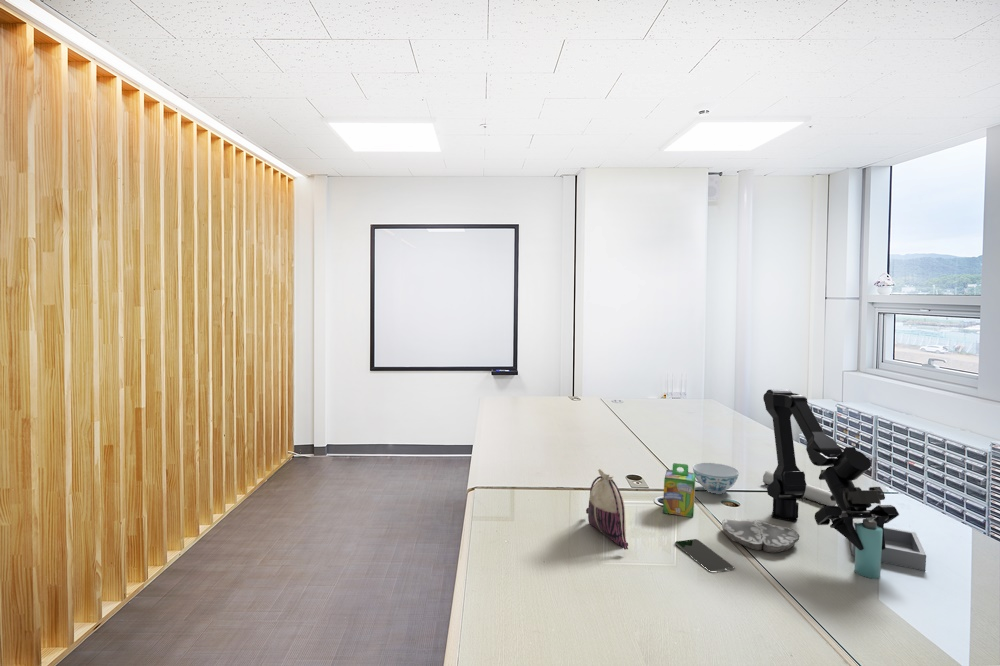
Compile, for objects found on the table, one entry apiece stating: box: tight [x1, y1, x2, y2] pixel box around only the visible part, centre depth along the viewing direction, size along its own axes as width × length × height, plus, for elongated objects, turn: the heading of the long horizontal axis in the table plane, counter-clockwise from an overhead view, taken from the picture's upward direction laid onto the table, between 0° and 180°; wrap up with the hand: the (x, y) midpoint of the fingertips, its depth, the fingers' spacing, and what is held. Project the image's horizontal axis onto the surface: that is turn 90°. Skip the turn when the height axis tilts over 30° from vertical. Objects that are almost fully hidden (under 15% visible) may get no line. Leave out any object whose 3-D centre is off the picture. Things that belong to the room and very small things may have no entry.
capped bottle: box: [854, 518, 883, 580], centre depth 128 cm, size 5×5×13 cm
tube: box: [762, 470, 837, 506], centre depth 181 cm, size 5×5×25 cm
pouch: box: [585, 468, 629, 550], centre depth 149 cm, size 25×8×19 cm, turn 22°
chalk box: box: [662, 462, 696, 518], centre depth 166 cm, size 9×9×15 cm
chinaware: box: [692, 462, 740, 495], centre depth 185 cm, size 15×15×8 cm
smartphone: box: [674, 538, 736, 572], centre depth 137 cm, size 7×1×16 cm
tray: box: [849, 520, 927, 571], centre depth 140 cm, size 15×15×4 cm
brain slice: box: [721, 518, 801, 553], centre depth 145 cm, size 20×17×3 cm
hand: (872, 549), depth 127 cm, fingers closed on capped bottle, 5 cm apart
